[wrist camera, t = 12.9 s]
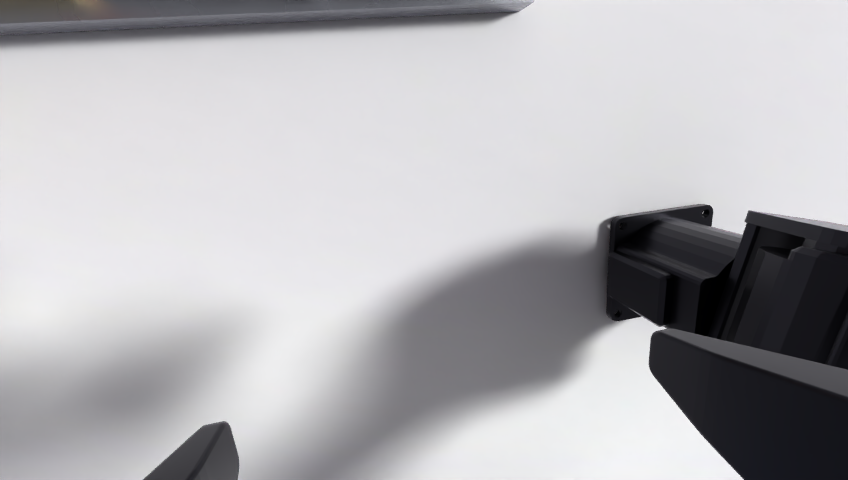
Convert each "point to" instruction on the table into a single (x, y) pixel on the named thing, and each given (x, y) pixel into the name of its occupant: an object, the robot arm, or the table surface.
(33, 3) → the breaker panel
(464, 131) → the table surface
